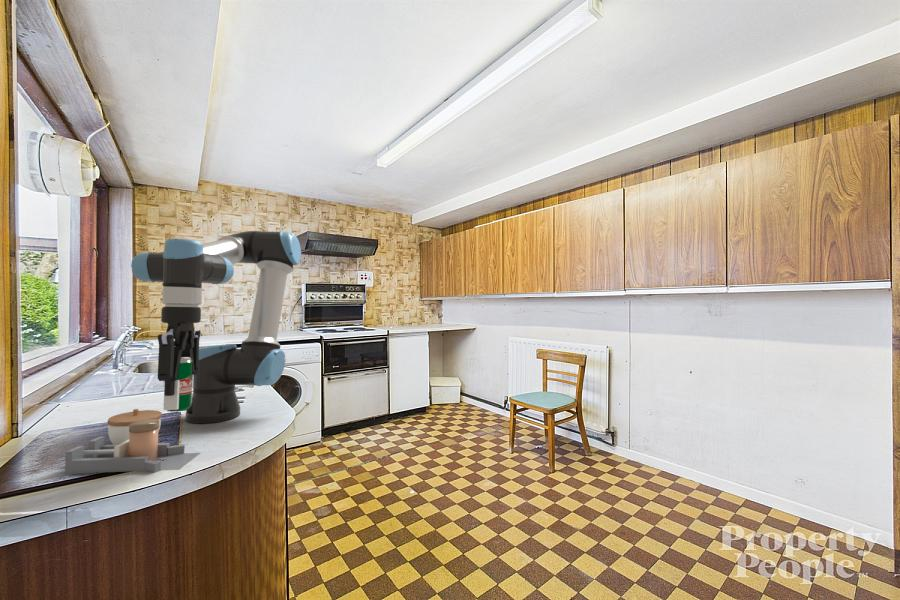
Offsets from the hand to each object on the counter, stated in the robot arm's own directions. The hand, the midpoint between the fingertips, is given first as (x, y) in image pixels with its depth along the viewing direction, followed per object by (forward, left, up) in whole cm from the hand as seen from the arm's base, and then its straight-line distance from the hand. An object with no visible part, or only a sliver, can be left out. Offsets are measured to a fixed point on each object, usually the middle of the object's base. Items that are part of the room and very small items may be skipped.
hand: (178, 405), depth 88 cm
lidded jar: (-12, -16, -13) cm, 24 cm away
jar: (0, -7, -13) cm, 15 cm away
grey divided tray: (0, -8, -13) cm, 15 cm away
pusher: (0, -15, -12) cm, 20 cm away
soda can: (0, 0, -1) cm, 1 cm away
